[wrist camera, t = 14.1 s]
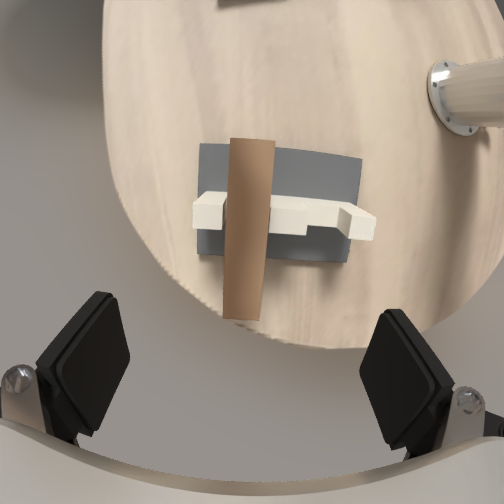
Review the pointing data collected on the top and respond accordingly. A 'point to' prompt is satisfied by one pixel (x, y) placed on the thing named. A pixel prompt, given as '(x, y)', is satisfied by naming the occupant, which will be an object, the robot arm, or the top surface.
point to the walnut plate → (246, 226)
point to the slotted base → (290, 183)
